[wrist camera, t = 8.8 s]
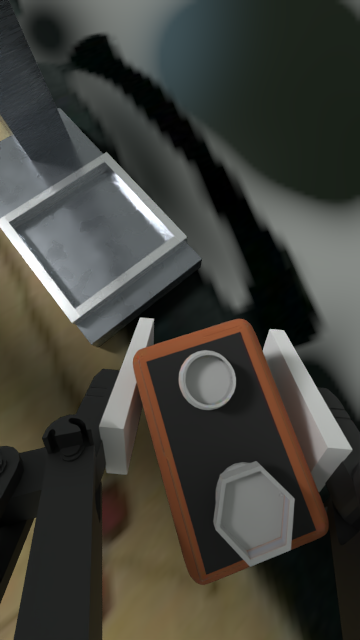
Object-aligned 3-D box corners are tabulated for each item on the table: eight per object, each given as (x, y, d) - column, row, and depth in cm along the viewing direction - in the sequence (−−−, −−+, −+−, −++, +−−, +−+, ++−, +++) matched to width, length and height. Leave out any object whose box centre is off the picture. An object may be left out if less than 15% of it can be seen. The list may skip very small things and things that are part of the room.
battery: (183, 470, 15) (195, 637, 5) (152, 365, 17) (119, 347, 7) (247, 447, 15) (368, 563, 6) (212, 346, 17) (260, 304, 7)
